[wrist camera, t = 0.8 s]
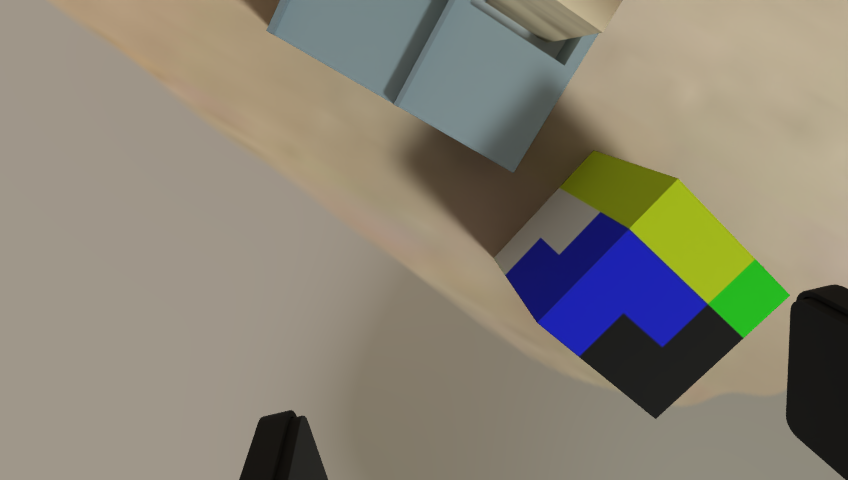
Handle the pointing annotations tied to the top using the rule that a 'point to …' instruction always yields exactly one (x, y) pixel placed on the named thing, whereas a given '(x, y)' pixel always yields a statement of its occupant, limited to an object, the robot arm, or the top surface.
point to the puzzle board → (441, 64)
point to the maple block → (558, 16)
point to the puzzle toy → (637, 279)
